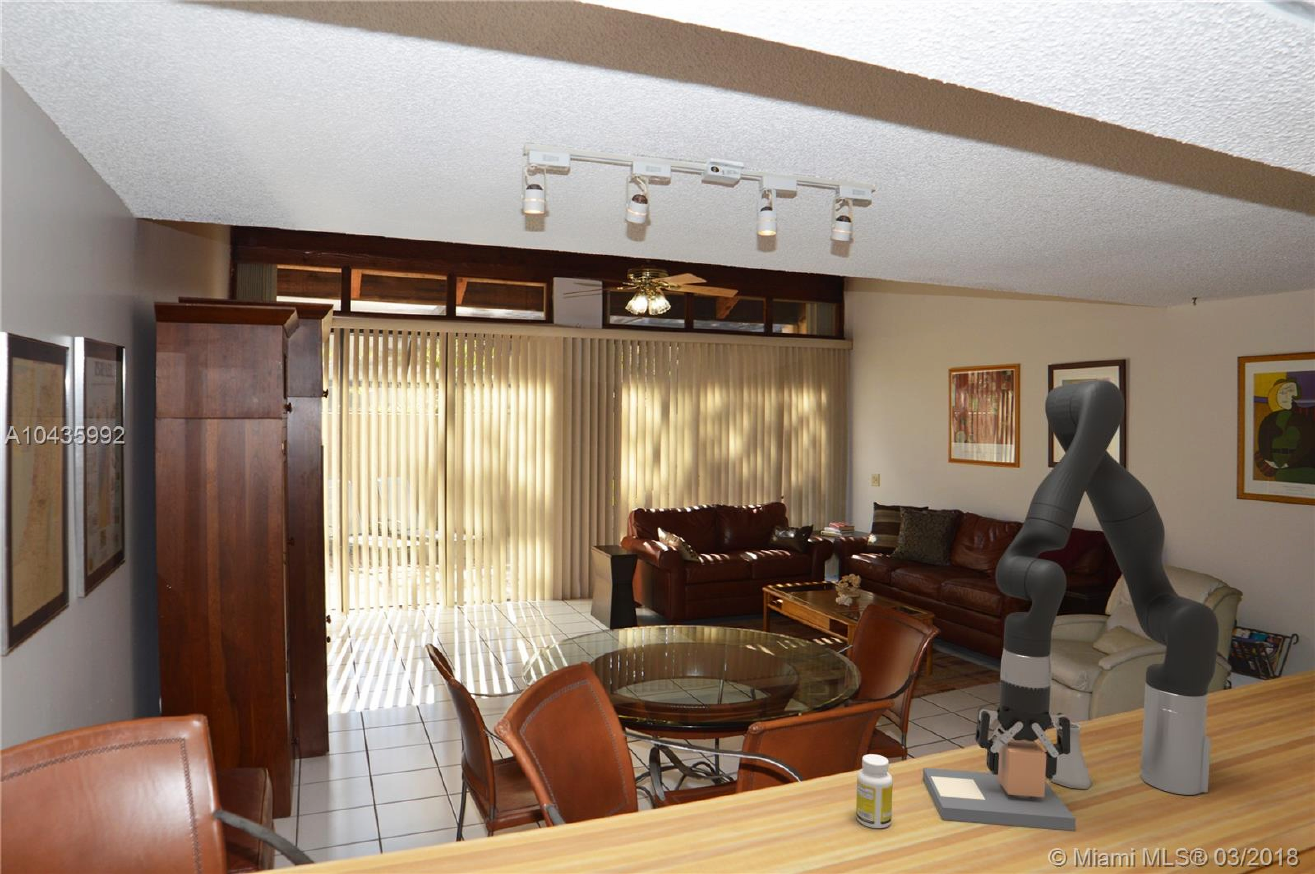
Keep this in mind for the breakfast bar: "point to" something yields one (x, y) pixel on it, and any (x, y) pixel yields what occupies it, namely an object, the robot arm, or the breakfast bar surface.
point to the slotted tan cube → (1022, 768)
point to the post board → (993, 801)
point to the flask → (1072, 764)
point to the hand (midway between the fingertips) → (1020, 774)
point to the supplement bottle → (874, 792)
